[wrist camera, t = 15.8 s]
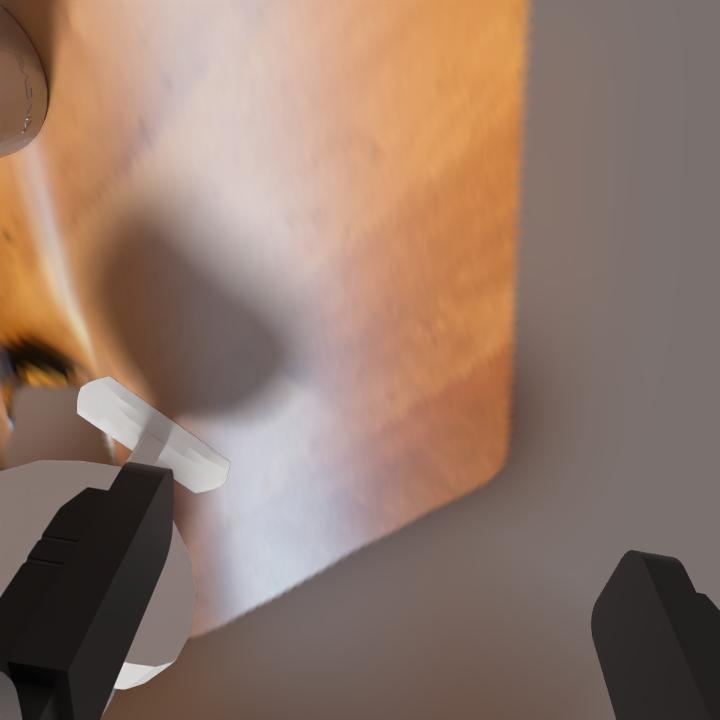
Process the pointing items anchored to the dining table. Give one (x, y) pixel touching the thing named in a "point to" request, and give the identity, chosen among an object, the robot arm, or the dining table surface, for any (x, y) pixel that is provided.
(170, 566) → the heart sculpture
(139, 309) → the dining table surface
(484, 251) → the dining table surface
